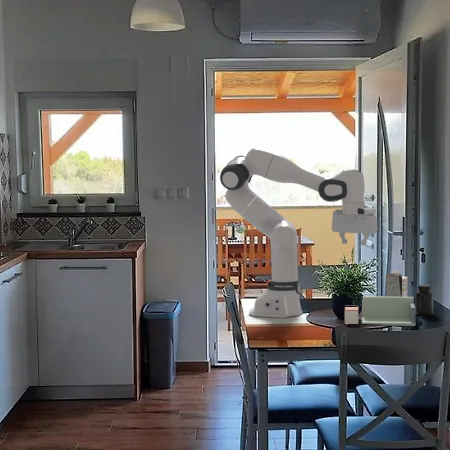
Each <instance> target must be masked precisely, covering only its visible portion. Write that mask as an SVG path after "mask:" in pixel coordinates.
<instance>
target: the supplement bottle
mask: <svg viewBox="0 0 450 450" xmlns="http://www.w3.org/2000/svg"><path fill="white" fill-rule="evenodd" d="M417 290H418V291H416V293H415V315H417V316H421V317H429V316H432V315H434V294H433V292H432V291H431V285H430V284H418V287H417Z"/></svg>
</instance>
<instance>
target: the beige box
mask: <svg viewBox="0 0 450 450" xmlns="http://www.w3.org/2000/svg"><path fill="white" fill-rule="evenodd" d="M345 324H346V325H345ZM348 324H358V325H359V306H358V307H344V325H345V326H347V325H348ZM348 326H349V325H348Z"/></svg>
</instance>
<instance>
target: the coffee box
mask: <svg viewBox="0 0 450 450" xmlns="http://www.w3.org/2000/svg"><path fill="white" fill-rule="evenodd" d="M402 277H403V276H402V273H399V272H398V273H394V274H391V273H385V297H402Z"/></svg>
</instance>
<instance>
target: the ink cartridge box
mask: <svg viewBox="0 0 450 450" xmlns="http://www.w3.org/2000/svg"><path fill="white" fill-rule="evenodd" d="M394 273H399V269H396V270H392V271H391V272H390V274H394ZM408 279H409V278H408V276H402V297H408Z"/></svg>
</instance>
